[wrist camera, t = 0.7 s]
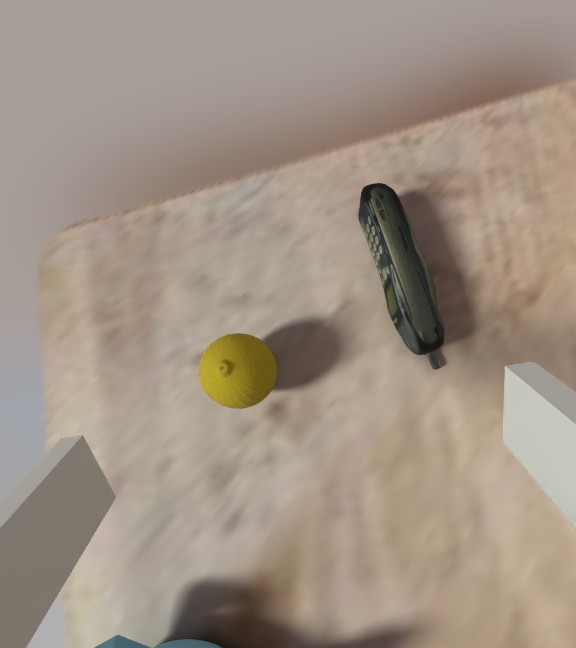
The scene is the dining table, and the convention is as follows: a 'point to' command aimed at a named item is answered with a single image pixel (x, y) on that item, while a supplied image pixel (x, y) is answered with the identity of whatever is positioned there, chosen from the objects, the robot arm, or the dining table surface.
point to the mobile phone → (402, 271)
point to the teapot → (118, 644)
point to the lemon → (238, 371)
